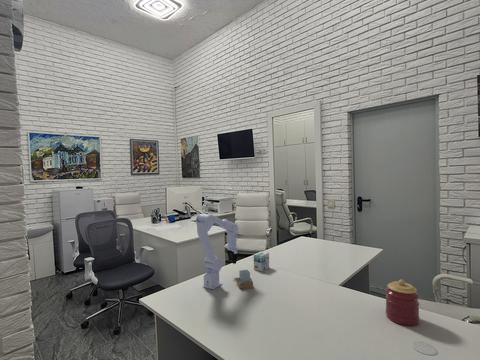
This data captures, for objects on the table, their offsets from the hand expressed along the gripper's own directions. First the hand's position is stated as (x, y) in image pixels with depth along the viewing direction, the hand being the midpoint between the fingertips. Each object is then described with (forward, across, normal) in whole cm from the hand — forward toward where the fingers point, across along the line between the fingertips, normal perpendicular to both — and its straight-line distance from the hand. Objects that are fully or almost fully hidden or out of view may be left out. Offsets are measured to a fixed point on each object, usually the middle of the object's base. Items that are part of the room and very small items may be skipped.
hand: (232, 261), depth 174 cm
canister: (+10, -78, -54) cm, 96 cm away
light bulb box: (+10, +6, -24) cm, 26 cm away
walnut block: (+10, -18, -2) cm, 20 cm away
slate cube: (+6, -18, -2) cm, 19 cm away
